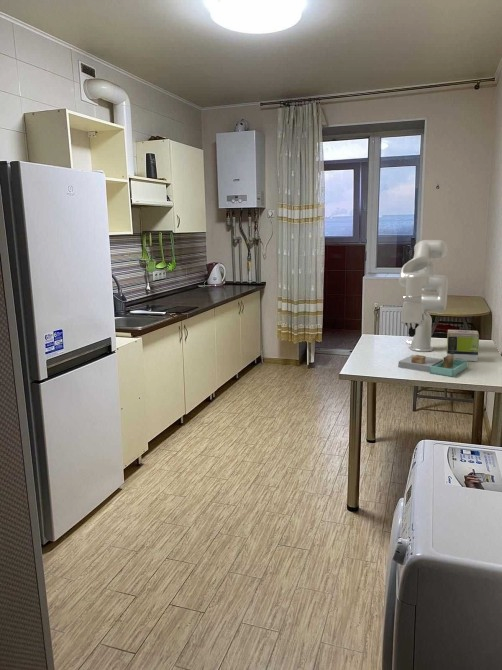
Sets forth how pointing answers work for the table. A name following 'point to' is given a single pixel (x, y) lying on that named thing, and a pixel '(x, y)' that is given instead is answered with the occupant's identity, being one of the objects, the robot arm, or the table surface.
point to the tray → (450, 372)
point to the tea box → (463, 344)
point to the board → (420, 367)
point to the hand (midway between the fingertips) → (411, 336)
